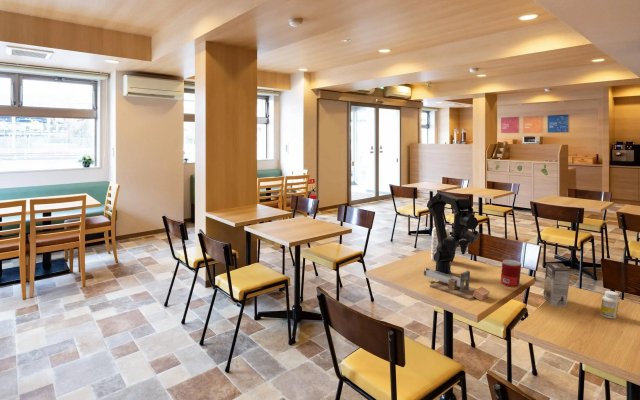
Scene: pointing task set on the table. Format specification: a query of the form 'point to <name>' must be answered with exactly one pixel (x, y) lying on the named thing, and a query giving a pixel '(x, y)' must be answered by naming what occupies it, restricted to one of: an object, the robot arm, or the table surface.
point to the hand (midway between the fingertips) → (458, 256)
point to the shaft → (441, 276)
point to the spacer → (481, 293)
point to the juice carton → (436, 241)
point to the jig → (461, 291)
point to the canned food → (510, 273)
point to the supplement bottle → (609, 304)
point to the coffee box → (556, 284)
